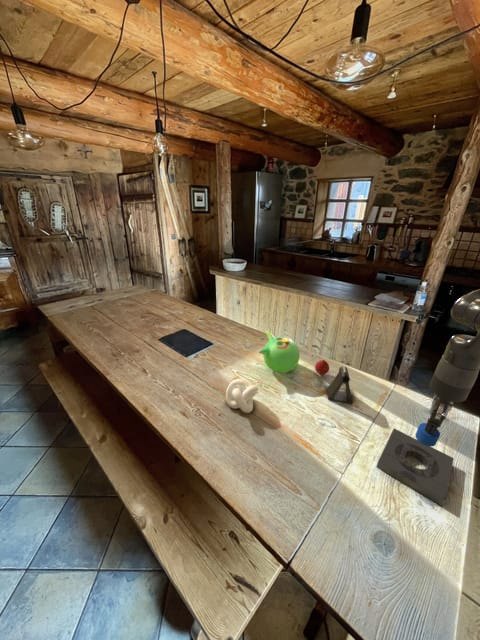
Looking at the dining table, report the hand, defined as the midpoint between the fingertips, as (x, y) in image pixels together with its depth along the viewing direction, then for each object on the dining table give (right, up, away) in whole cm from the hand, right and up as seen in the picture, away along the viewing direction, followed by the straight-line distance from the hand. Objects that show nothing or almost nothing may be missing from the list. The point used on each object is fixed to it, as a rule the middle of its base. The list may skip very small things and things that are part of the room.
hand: (430, 429), depth 71 cm
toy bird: (-33, +8, +49) cm, 60 cm away
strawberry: (-16, +5, +45) cm, 48 cm away
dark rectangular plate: (0, -13, +6) cm, 15 cm away
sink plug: (0, -3, +2) cm, 4 cm away
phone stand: (-12, -1, +32) cm, 35 cm away
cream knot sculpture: (-51, -2, +28) cm, 58 cm away
